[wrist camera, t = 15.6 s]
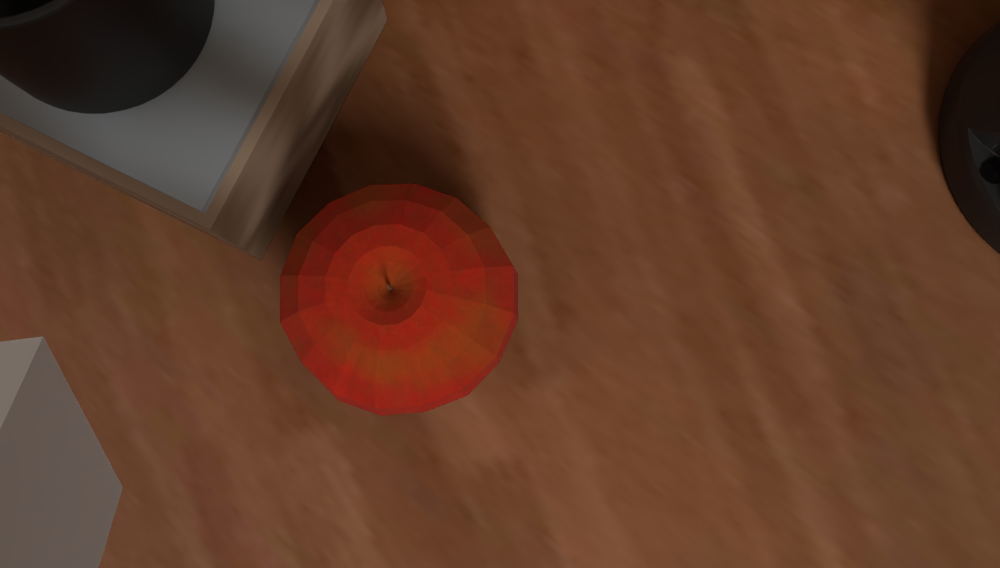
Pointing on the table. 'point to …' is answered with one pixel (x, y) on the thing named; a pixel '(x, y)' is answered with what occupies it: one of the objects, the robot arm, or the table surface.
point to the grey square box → (221, 117)
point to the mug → (100, 49)
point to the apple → (398, 298)
